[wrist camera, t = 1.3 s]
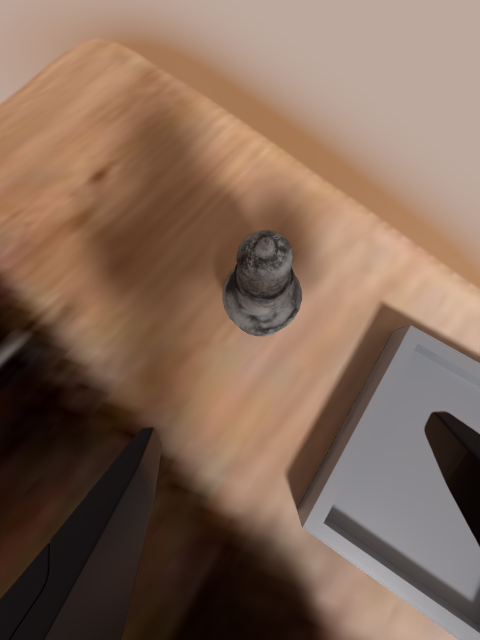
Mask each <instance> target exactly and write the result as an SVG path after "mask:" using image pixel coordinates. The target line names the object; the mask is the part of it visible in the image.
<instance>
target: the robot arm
mask: <svg viewBox="0 0 480 640" xmlns="http://www.w3.org/2000/svg"><path fill="white" fill-rule="evenodd" d="M424 432H425V435H426V438H427V440H428V442H429V445H430V447H431V450H432V452H433V454H434V457H435V459H436V462H437V464H438V466H439V469H440V471H441V474H442V476H443V478H444V480H445V483H446V485H447V487H448V489H449V491H450V493H451V494H452V496H453V498H454V500H455V502H456V504H457V506H458V507H459V509H460V511H461V513H462V515H463V517H464V519H465V521H466V522H467V524H468V526H469V528H470V530H471V532H472V534H473V536H474V537H475V539H476V541H477V543H478V545H479V547H480V434H479V433H478V432H476V431H475V430H474V429H472V428H471V427H469V426H468V425H466V424H465V423H463V422H462V421H461V420H459V419H458V418H456V417H455V416H453V415H452V414H450V413H449V412H446V411H435V412H432V413H431V414H430V416H429V418H428V420H427V422H426V424H425V427H424ZM160 454H161V440H160V438H159V435H158V433H157V430H156V428H154V427H144V428H142V429H141V430H140V431H139V432H138V433H137V435H136V436H135V437H134V438H133V439H132V441H131V442H130V443H129V444H128V446H127V447H126V448H125V449H124V451H123V452H122V453H121V454H120V455H119V457H118V458H117V459H116V460H115V462H114V463H113V464H112V465H111V466H110V468H109V469H108V470H107V471H106V473H105V474H104V475H103V476H102V477H101V479H100V480H99V481H98V482H97V484H96V485H95V486H94V487H93V489H92V490H91V491H90V492H89V493H88V495H87V496H86V497H85V498H84V500H83V501H82V502H81V503H80V504H79V506H78V507H77V508H76V509H75V511H74V512H73V513H72V514H71V515H70V517H69V518H68V519H67V520H66V522H65V523H64V524H63V525H62V527H61V528H60V529H59V530H58V531H57V533H56V534H55V535H54V536H53V538H52V539H51V540H50V543H48V544H47V545H46V546H45V547H44V548H43V550H42V551H41V552H40V553H39V555H38V556H37V557H36V558H35V559H34V561H33V562H32V563H31V564H30V565H29V567H28V568H27V569H26V570H25V571H24V572H23V574H22V575H21V576H20V577H19V578H18V580H17V581H16V582H15V583H14V584H13V585H12V586H11V588H10V589H9V590H8V591H7V592H6V593H5V594H4V595H3V597H2V598H1V599H0V640H121V637H122V633H123V629H124V625H125V621H126V616H127V612H128V608H129V604H130V599H131V595H132V591H133V587H134V582H135V578H136V574H137V570H138V566H139V561H140V557H141V553H142V549H143V544H144V540H145V536H146V532H147V528H148V523H149V519H150V515H151V511H152V506H153V502H154V497H155V491H156V484H157V476H158V469H159V461H160Z"/></svg>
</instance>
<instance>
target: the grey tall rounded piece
mask: <svg viewBox="0 0 480 640" xmlns="http://www.w3.org/2000/svg"><path fill="white" fill-rule="evenodd" d="M292 264H293V250H292V247H291V245H290V243H289V242H288V240H287V239H286V238H285V237H284V236H283V235H281V234H279V233H277V232H274V231H270V230H261V231H257V232H254V233H252V234H250V235H248V236H247V237H246V238H245V239H244V240H243V241H242V243H241V244H240V246H239V249H238V252H237V265H236V267H235V269H234V270H232V271H231V273H230V274H229V276H228V277H227V279H226V281H225V284H224V287H223V303H224V308H225V310H226V312H227V314H228V316H229V318H230V319H231V320H232V321H233V322H234V323H235V324H236V325H237V326H239V327H240V328H241V329H242V330H243V331H245V332H246V333H248V334H251V335H255V336H267V335H271V334H274V333H276V332H277V331H279V330H280V329H282V328H284V327H286V326H287V325H288V324H289V323H290V322H291V321H292V320H293V319H294V317H295V316H296V314H297V312H298V311H299V308H300V304H301V300H302V296H301V287H300V284H299V280H298V279H297V277H296V276H295V274H294V272H293V270H292Z"/></svg>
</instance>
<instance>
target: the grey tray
mask: <svg viewBox="0 0 480 640" xmlns="http://www.w3.org/2000/svg"><path fill="white" fill-rule="evenodd" d="M435 411H446V412H449V413H450V414H452V415H453V416H455V417H456V418H458V419H459V420H461V421H462V422H463V423H465V424H466V425H468V426H469V427H471V428H472V429H474V430H475V431H476V432H478V433H479V434H480V363H479V362H477V361H475V360H473V359H471V358H470V357H468V356H466V355H464V354H462V353H460V352H459V351H457V350H455V349H453V348H451V347H450V346H448V345H446V344H444V343H442V342H441V341H439V340H437V339H435V338H433V337H431V336H430V335H428V334H426V333H424V332H422V331H421V330H419V329H417V328H415V327H413V326H412V325H410V326H406V327H403V328H400V329H397V330H394V331H393V333H392V335H391V337H390V339H389V340H388V342H387V344H386V346H385V348H384V350H383V351H382V353H381V355H380V357H379V359H378V361H377V363H376V364H375V366H374V368H373V370H372V372H371V374H370V375H369V377H368V379H367V381H366V383H365V385H364V386H363V388H362V390H361V392H360V394H359V396H358V397H357V399H356V401H355V403H354V405H353V407H352V409H351V410H350V412H349V414H348V416H347V418H346V420H345V421H344V423H343V425H342V427H341V429H340V431H339V432H338V434H337V436H336V438H335V440H334V442H333V443H332V445H331V447H330V449H329V451H328V453H327V455H326V456H325V458H324V460H323V462H322V464H321V466H320V467H319V469H318V471H317V473H316V475H315V477H314V478H313V480H312V482H311V484H310V486H309V488H308V490H307V491H306V493H305V495H304V497H303V499H302V501H301V502H300V504H299V506H298V508H297V512H298V515H299V518H300V521H301V525H302V528H304V529H305V530H306V531H308V532H309V533H311V534H312V535H313V536H315V537H316V538H318V539H319V540H320V541H322V542H323V543H324V544H326V545H327V546H329V547H330V548H331V549H333V550H334V551H336V552H337V553H338V554H340V555H341V556H343V557H344V558H345V559H347V560H348V561H350V562H351V563H352V564H354V565H355V566H357V567H358V568H359V569H361V570H362V571H364V572H365V573H366V574H368V575H369V576H371V577H372V578H373V579H375V580H376V581H378V582H379V583H380V584H382V585H383V586H384V587H386V588H387V589H389V590H390V591H391V592H393V593H394V594H396V595H397V596H398V597H400V598H401V599H403V600H404V601H405V602H407V603H408V604H410V605H411V606H412V607H414V608H415V609H417V610H418V611H419V612H421V613H422V614H424V615H425V616H426V617H428V618H429V619H431V620H432V621H433V622H435V623H436V624H438V625H439V626H440V627H442V628H443V629H445V630H446V631H447V632H449V633H450V634H451V635H453V636H454V637H456V638H457V639H458V640H480V547H479V545H478V543H477V541H476V539H475V537H474V536H473V534H472V532H471V530H470V528H469V526H468V524H467V522H466V521H465V519H464V517H463V515H462V513H461V511H460V509H459V507H458V506H457V504H456V502H455V500H454V498H453V496H452V494H451V493H450V491H449V489H448V487H447V485H446V483H445V480H444V478H443V476H442V474H441V471H440V469H439V466H438V464H437V462H436V459H435V457H434V454H433V452H432V450H431V447H430V445H429V442H428V440H427V438H426V435H425V432H424V427H425V424H426V422H427V420H428V418H429V416H430V414H431V413H432V412H435Z"/></svg>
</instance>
